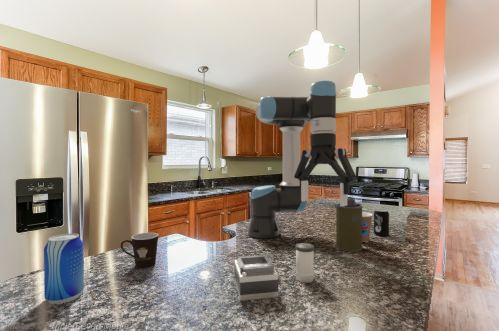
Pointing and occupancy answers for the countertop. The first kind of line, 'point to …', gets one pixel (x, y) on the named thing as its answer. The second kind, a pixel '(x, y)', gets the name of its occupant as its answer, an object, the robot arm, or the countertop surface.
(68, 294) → the beer can
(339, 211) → the canister
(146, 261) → the coffee mug
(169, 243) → the countertop surface
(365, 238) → the coffee cup
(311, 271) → the beige and black cylinder
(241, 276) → the grey square holder base
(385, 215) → the beverage can
